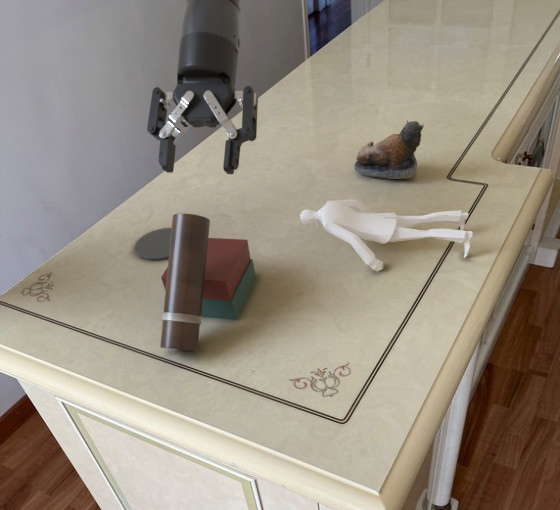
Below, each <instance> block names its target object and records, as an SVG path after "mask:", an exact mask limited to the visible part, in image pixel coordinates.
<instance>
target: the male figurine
mask: <svg viewBox="0 0 560 510" xmlns="http://www.w3.org/2000/svg"><path fill="white" fill-rule="evenodd" d="M462 211H463V210H460V209H459V210H446V211H445V210H443V211H438V212H432V213H428V214H425V215H399V214H396V213H395V212H378V213H377V212H374V211H373V210H371V209H370V208H368V207H367V206H366V205H365V204H363V203H361V202H360V201H359V200H357V199H352V198H351V199H336V200H335V199H333V200H329V199H328V200H326V202H325V203H324V205H323V206H322V207H321V208H319V209H318V210H312V209H309V208H307V209H303V210H302V211H301V212H300V213H299V217H300V221H301V223H302V225H304V226H307V227H308V226H309V227H314V228H313V230H315V229H316V227H320V223H321V224H322V225H323V228H324V230H325V232H326V233H329V234H331V235H333V236H334V237H336V238H338V239H339V240H342V241H343V242H346V243H348V244H350V246H351V247H352V248H353V250H354V251H355V252H356V253H357V255H358V256H359V257H360V258H361V260H362V261H363V262H364V264H365V265H366V266H369V267H370V268H371V269H372V270H373V271H375V272H380V271H382V270H384V261H381V260H379V259H378V258H377V257H376V254H375V253H374V252H373V251H372V249H370V247H369V246H367V244H366V243H365V242H364V240H365V241H371V242H376V243H378V244H381V245H382V244H387V243H388V242H390V243H396V242H404V241H414V240H423V239H428V238H432V239H438V240H444V241H450V242H454V243H459V244H463V246H464V254H463V258H464V259H466V258H467V257H468V255H469V251H470V246H471V245H470V244H471V243H470V240H471V239H472V238H473V231H472V230H471V231H470V230H464V228H465V226H466V224H465V223H466V220H467V219H468V218H469V212H462ZM432 223H433V224H437V223H438V224H439V223H441V224H442V223H443V224H445V223H446V224H459V229H454V228H446V227H444V228H429V229H427V230H424V229H415V228H414V227H417V226H421V225H423V224H432Z"/></svg>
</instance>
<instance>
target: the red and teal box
mask: <svg viewBox="0 0 560 510" xmlns="http://www.w3.org/2000/svg"><path fill="white" fill-rule="evenodd" d="M250 253H251V252H250V247H249V241H248V239H243V238H242V239H241V238H239V239H238V238H224V237H223V238H221V237H208V248H207V258H206V268H205V279H204V289H203V299H202V309H201V317H202V318H208V319H219V320H220V319H221V320H229V321H230V320H231V321H236V320H237V319H238V317H239V315H240V313H241V310H242V308H243V306H244V304H245V302H246V300H247V297H248V296H249V293H250V291H251V288H252V287H253V284H254V283H255V280H256V271H255V267H254V259H252V257H251V254H250ZM167 271H168V266H167V267H166V268H165V270H164V271H163V273H162V275H161V276H160V277H161V281H162V284H163V289H164V292H166V281H167Z"/></svg>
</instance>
